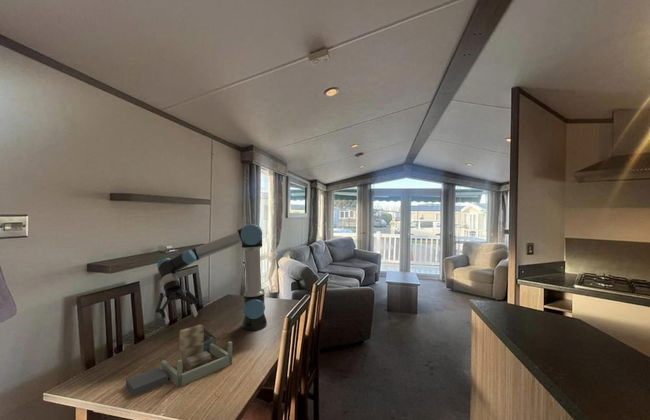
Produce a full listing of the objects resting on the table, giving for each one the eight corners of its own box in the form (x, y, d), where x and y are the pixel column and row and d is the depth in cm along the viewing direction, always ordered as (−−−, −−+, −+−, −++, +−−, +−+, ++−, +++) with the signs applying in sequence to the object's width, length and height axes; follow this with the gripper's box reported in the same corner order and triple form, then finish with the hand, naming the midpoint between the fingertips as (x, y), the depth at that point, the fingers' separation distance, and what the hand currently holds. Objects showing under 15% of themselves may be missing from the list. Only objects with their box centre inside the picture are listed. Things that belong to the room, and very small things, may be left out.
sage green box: (212, 351, 143) (212, 331, 143) (232, 363, 131) (232, 342, 131) (160, 370, 125) (161, 347, 125) (178, 387, 113) (178, 361, 113)
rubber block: (158, 374, 122) (158, 367, 122) (167, 383, 115) (167, 375, 115) (125, 386, 113) (126, 379, 113) (133, 397, 106) (133, 389, 106)
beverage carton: (200, 354, 140) (200, 341, 140) (188, 341, 154) (188, 329, 154) (216, 349, 145) (216, 336, 146) (203, 337, 160) (203, 325, 160)
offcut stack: (206, 363, 131) (206, 350, 131) (212, 367, 127) (213, 354, 128) (182, 372, 123) (182, 358, 123) (188, 377, 119) (188, 363, 119)
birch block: (200, 357, 137) (200, 324, 137) (203, 359, 135) (203, 325, 135) (178, 365, 129) (179, 330, 129) (181, 367, 127) (182, 332, 127)
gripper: (192, 284, 160) (204, 316, 150) (142, 292, 142) (152, 330, 131) (197, 276, 157) (209, 309, 147) (146, 283, 138) (156, 322, 128)
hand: (182, 319), depth 139 cm, fingers open, 13 cm apart
